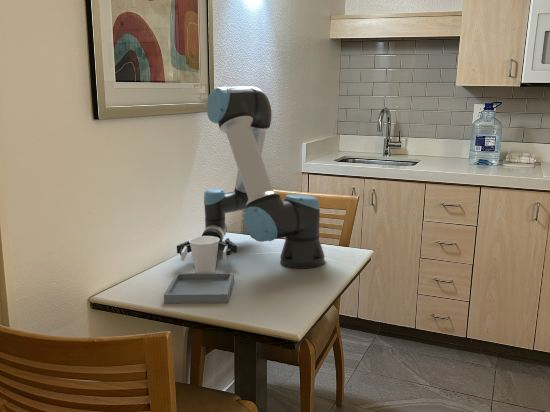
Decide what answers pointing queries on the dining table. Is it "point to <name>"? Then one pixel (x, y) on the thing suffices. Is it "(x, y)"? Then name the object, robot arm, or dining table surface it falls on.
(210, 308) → the dining table surface
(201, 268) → the cup
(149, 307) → the dining table surface
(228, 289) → the tray
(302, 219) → the robot arm
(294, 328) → the dining table surface
